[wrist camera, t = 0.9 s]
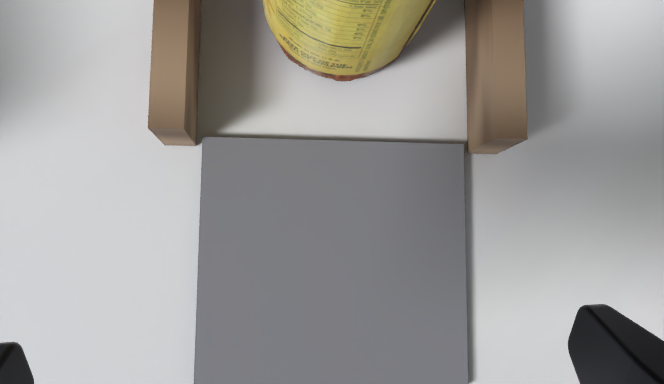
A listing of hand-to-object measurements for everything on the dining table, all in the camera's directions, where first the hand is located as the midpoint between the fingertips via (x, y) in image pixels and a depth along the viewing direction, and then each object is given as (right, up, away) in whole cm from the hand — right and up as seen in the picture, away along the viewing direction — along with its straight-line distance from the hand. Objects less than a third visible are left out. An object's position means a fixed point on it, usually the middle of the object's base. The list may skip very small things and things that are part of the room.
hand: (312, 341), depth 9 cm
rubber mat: (0, 0, +13) cm, 13 cm away
